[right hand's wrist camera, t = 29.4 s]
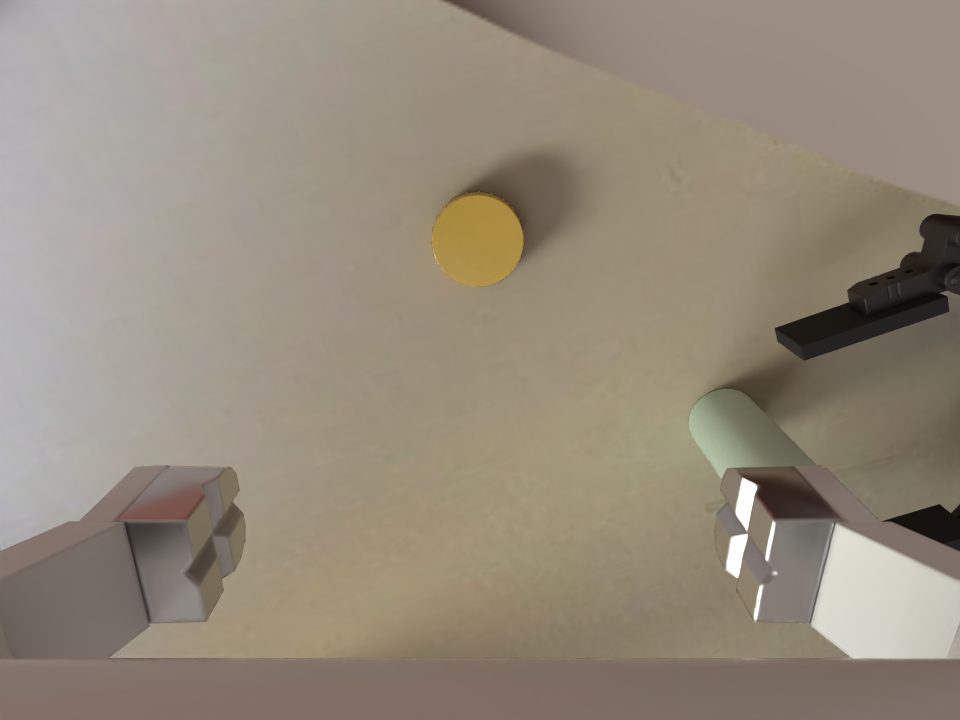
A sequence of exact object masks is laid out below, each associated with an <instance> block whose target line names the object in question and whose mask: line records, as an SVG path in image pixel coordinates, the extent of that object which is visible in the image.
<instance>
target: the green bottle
mask: <svg viewBox="0 0 960 720" xmlns="http://www.w3.org/2000/svg"><path fill="white" fill-rule="evenodd" d="M689 430H690V433H691V435H692V437H693V438H694V440H695V441H696V442H697V444H698V445H699V447H700V448H701V450H702V451H703V453H704V454H705V456H706V457H707V459H708V460H709V461H710V463H711V464H712V466H713V467H714V469H715V470H716V472H717V473H718V475H719V476H720V478H721V479H722V478H723V475H724V473H725V471H726V469H727V468H740V467H781V466H812V465H816V464H815V463H814V462H813V461H812V460H811V459H810V458H809V457H808V456H807V455H806V454H805V453H804V452H803V451H802V450H801V449H800V448H799V447H798V446H797V445H796V444H795V443H794V442H793V441H792V440H791V439H790V438H789V437H788V436H787V435H786V434H785V433H784V432H783V431H782V430H781V429H780V428H779V427H778V426H777V425H776V424H775V423H774V422H773V421H772V420H771V419H770V418H769V417H768V416H767V415H766V414H765V413H764V412H763V411H762V410H761V409H760V408H759V407H758V406H757V405H756V403H755V402H754V401H753V400H752V399H751V398H750V397H749V396H747V395H746V394H745V393H743V392H741V391H738V390H735V389H719V390H715V391H712V392H710V393H708V394H706V395H705V396H703V397H702V398H701V399H700V400H699V401H698V402H697V403H696V404H695V405H694V407H693V409H692V411H691V413H690V416H689Z"/></svg>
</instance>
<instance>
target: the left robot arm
mask: <svg viewBox="0 0 960 720" xmlns="http://www.w3.org/2000/svg"><path fill="white" fill-rule="evenodd" d="M919 231H920V235H921V236H922V237H923V238H924V239H925V240H924V244H923V248H922V251H921V253H920V252H912V253H909V254H907V255H906V256H905V257H904V258H903V259H902V261H901V264H900V268H898V269H895V270H892V271H889V272H887V273H884V274H881V275H879V276H875V277H872V278H871V279H867V280H864V281H861V282H858V283H856V284H855V285H854V286H852V287H851V288H850V289H848V290H847V292H848V297H849V303H846V304H843V305H840V306H837V307H834V308H831V309H829V310H826V311H823V312H820V313H817V314H814V315H811V316H808V317H806V318H803V319H800V320H797V321H794V322H791V323H788V324H785V325H782V326H780V327H777V328H775V332H776V336H777V341H778V342H779V343H780V344H782V345H783V346H785V347H786V348H787V349H789V350H790V351H791V352H793V353H794V354H796V355H797V356H798V357H800V358H801V359H802V360H804V361H805V360H808V359H810V358H813V357H816V356H819V355H822V354H825V353H828V352H831V351H834V350H837V349H840V348H843V347H846V346H849V345H852V344H855V343H858V342H861V341H864V340H867V339H870V338H873V337H876V336H879V335H882V334H884V333H887V332H890V331H893V330H896V329H899V328H902V327H905V326H908V325H911V324H914V323H917V322H920V321H923V320H926V319H929V318H932V317H935V316H938V315H941V314H944V313H947V312H949V306H948V298H947V296H945V295H942V294H939V293H941V292H944V291H950V292H953V293H955V294H958V295H960V216H953V215H943V214H932V215H930V216H928V217H926V218H925V219H924V220H923V221H922V223H921V225H920V230H919ZM881 522H893V523H895V524H898V525H900V526H902V527H905V528H907V529H909V530H912V531H914V532H916V533H918V534H921V535H923V536H925V537H928V538H930V539H932V540H935V541H937V542H939V543H941V544H944V545H946V546H948V547H951V548H953V549H955V550H958V551H960V505H959V506H958V507H957V508H956V509H955V510H954V511H953V512H952V513H950V512H948V511H947V510H946V509H945V508H944V507H942V506H941V505H940V504H938V505H935V506H932V507H928V508H925V509H922V510H918V511H915V512H912V513H908V514H905V515H902V516H898V517H895V518H892V519H888V520H885V521H881Z"/></svg>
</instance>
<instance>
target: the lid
mask: <svg viewBox="0 0 960 720" xmlns="http://www.w3.org/2000/svg"><path fill="white" fill-rule="evenodd" d="M436 219H437V221H436V224H435V226H434V227H433V229H432V231H433V235H432V242H431V244H432V246H433V252H434V256H435V258H436V260H437V262H438V264H439V266H440V267H441V269H442V270H443V271H444V272H445V273H446V274H447V275H448V276H449V277H450V278H452V279H453V280H455V281H457V282H459V283H461V284H464V285H467V286H472V287H484V286H489V285H492V284H495V283H497V282H499V281H501V280H503V279H504V278H506V277H507V276H508V275H509V274H510V273H511V272H512V271H513V270H514V269H515V268H516V266H517V264H518V262H519V260H520V258H521V257H522V256H521V255H522V251H523V246H524V245H525V244H524V236H523V233H524V230H523V228H522V227H521V224H520V221H521V220H520V218H519V217H517V215H516V213H515V212H514V208H513V207H512V206H511V207H510V206H509V205H508V204H507V203H506V202H505V201H504V199H503V198H502V199H501V198H499V197H497V196H495V195H493V194H492V193H490V194H489V193H483V192H480V191H478V192H472V193H467V192H465V194H464V195H461V196H459V197H457V198H456V197H454V199H453V200H452V201H451V202H450V203H449V204H448V205H446V204H445V205H444V207H443V210H442V212H441V213H440V215H438V216H437V218H436Z"/></svg>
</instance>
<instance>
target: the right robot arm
mask: <svg viewBox="0 0 960 720" xmlns="http://www.w3.org/2000/svg"><path fill="white" fill-rule="evenodd" d="M239 491H240V489H239V484H238V479H237V475H236V472H235V471H234V470H233V469H232V468H231V467H199V466H168V465H165V466H140V467H134V468H133V469H132V470H131V471H130V472H129V473H128V474H127V475H126V476H125V477H124V478H123V479H122V480H121V481H120V482H119V483H118V484H117V485H116V486H115V487H114V488H113V489H112V490H111V491H110V492H109V493H108V494H107V495H106V496H105V497H104V498H103V499H102V500H101V501H100V502H99V503H98V504H97V505H96V506H94V507H93V508H92V509H91V510H90V511H89V512H88V513H87V514H86V515H85V516H84V517H83V518H82V519H81V520H80V521H79V522H67V523H65V524H62V525H60V526H58V527H55V528H53V529H51V530H48V531H46V532H44V533H42V534H39V535H37V536H35V537H32V538H30V539H28V540H25V541H23V542H21V543H18V544H16V545H14V546H12V547H9V548H7V549H5V550H2V551H0V720H960V551H958V550H955V549H953V548H951V547H948V546H946V545H944V544H941V543H939V542H937V541H935V540H932V539H930V538H928V537H925V536H923V535H921V534H918V533H916V532H914V531H912V530H909V529H907V528H905V527H902V526H900V525H898V524H895V523H893V522H881V521H880V520H879V519H878V518H877V517H876V516H875V515H874V514H873V513H872V512H871V511H870V510H869V509H868V508H867V507H866V506H865V505H864V504H863V503H862V502H860V501H859V500H858V499H857V498H856V497H855V496H854V495H853V494H852V493H851V492H850V491H849V490H848V489H847V488H846V487H845V486H844V485H843V484H842V483H841V482H840V481H839V480H838V479H837V478H836V477H835V476H834V475H833V474H832V473H831V472H830V471H829V470H828V469H827V468H825V467H822V466H819V465H812V466H781V467H740V468H727V469H726V471H725V473H724V475H723V478H722V484H721V489H720V491H721V492H722V494H723V495H724V497H725V499H726V500H727V503H726V504H725V505H724V506H723V507H722V508H721V509H720V510H719V511H718V512H717V514H716V522H715V530H714V533H715V544H716V550H717V553H718V556H719V559H720V561H721V563H722V565H723V567H724V569H725V571H727V572H728V573H730V574H731V575H733V576H734V577H736V578H737V579H738V583H737V589H736V591H737V593H738V594H739V596H740V598H741V600H742V602H743V603H744V605H745V607H746V609H747V610H748V612H749V614H750V616H751V618H752V619H753V621H754V622H780V623H811V625H810V626H811V627H812V628H814V629H815V630H816V631H818V632H819V633H820V634H821V635H823V636H824V637H825V638H827V639H828V640H829V641H830V642H832V643H833V644H834V645H836V646H837V647H838V648H839V649H841V650H842V651H843V652H845V653H846V654H847V655H849V656H850V657H851V658H109V657H110V656H112V655H113V654H114V653H116V652H117V651H118V650H119V649H121V648H122V647H123V646H125V645H126V644H127V643H128V642H130V641H131V640H132V639H134V638H135V637H136V636H138V635H139V634H140V633H141V632H143V631H144V630H145V629H147V628H148V627H149V626H150V625H149V623H179V622H206V621H207V619H208V618H209V616H210V614H211V612H212V610H213V609H214V607H215V605H216V603H217V602H218V600H219V598H220V596H221V594H222V593H223V591H224V589H223V583H222V579H223V578H224V577H226V576H227V575H229V574H230V573H232V572H233V571H235V569H236V567H237V565H238V563H239V561H240V559H241V557H242V552H243V548H244V544H245V520H244V514H243V512H242V511H241V510H240V509H239V508H238V507H237V506H236V505H235V504H234V503H233V500H234V499H235V497H236V495H237V494H238V492H239Z"/></svg>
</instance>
